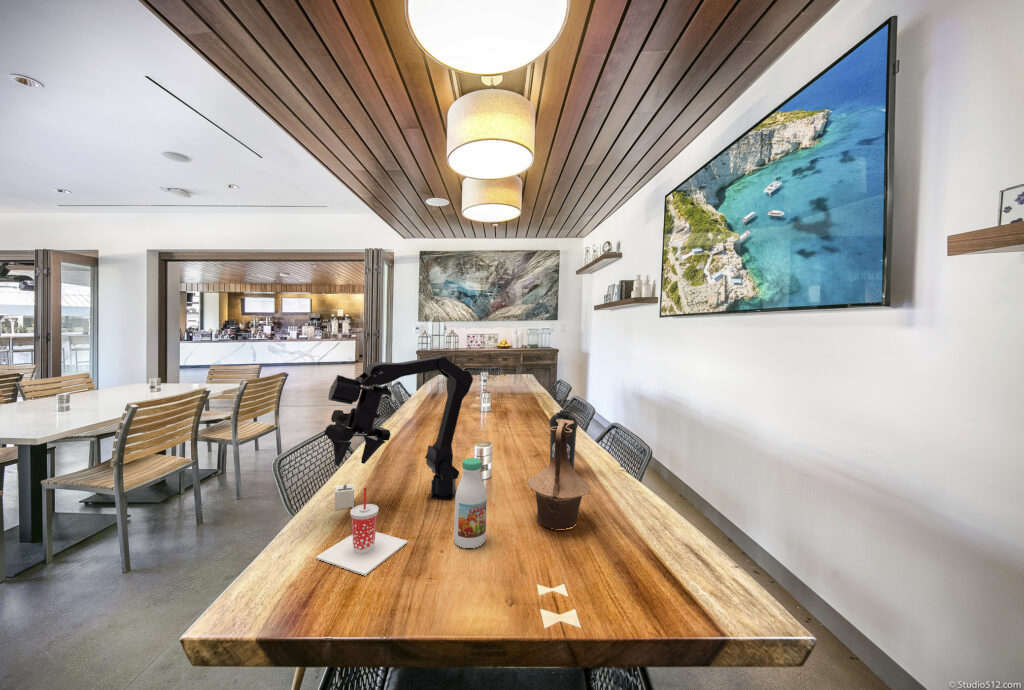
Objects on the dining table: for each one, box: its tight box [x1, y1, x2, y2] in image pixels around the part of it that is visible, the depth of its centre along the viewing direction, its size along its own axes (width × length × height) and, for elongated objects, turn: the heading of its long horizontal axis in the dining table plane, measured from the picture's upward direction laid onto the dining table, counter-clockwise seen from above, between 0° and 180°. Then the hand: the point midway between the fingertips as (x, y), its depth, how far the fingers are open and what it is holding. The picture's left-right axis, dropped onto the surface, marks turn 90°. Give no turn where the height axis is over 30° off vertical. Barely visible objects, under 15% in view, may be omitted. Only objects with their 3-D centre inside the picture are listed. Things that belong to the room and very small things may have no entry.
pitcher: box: [527, 419, 591, 529], centre depth 106 cm, size 18×17×28 cm
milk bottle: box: [453, 457, 488, 549], centre depth 95 cm, size 8×8×20 cm
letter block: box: [334, 483, 355, 511], centre depth 112 cm, size 5×5×5 cm
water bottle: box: [548, 409, 579, 471], centre depth 141 cm, size 10×10×23 cm
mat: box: [315, 531, 409, 577], centre depth 89 cm, size 14×14×1 cm
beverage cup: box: [350, 487, 379, 554], centre depth 89 cm, size 6×6×14 cm
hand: (350, 464), depth 105 cm, fingers open, 9 cm apart
